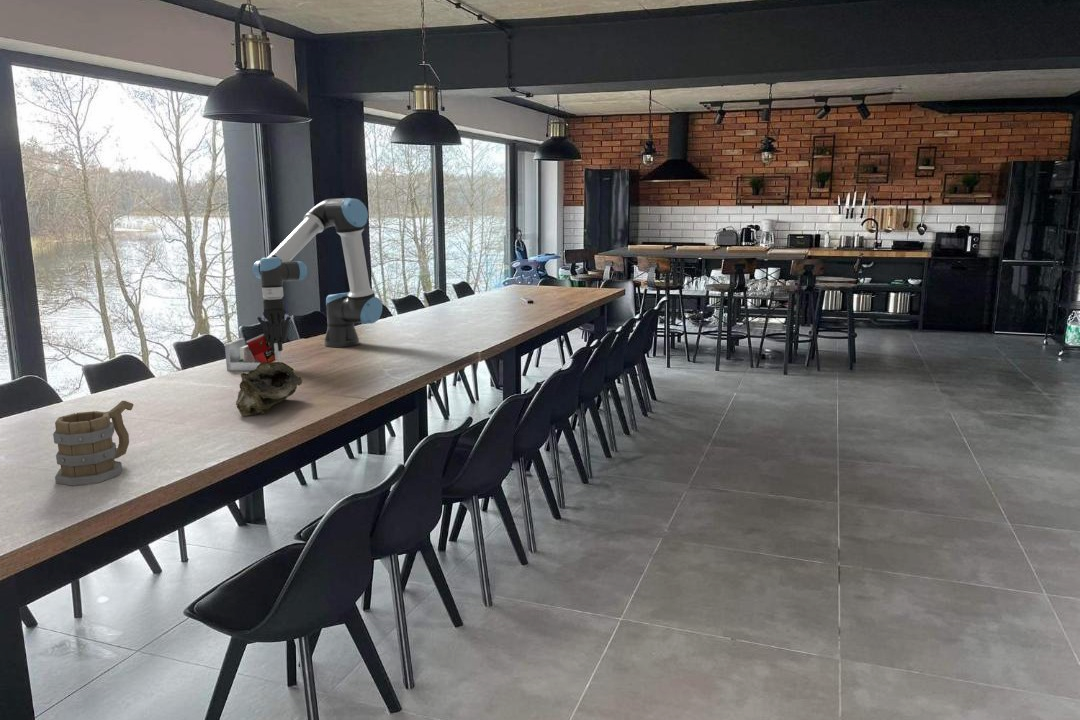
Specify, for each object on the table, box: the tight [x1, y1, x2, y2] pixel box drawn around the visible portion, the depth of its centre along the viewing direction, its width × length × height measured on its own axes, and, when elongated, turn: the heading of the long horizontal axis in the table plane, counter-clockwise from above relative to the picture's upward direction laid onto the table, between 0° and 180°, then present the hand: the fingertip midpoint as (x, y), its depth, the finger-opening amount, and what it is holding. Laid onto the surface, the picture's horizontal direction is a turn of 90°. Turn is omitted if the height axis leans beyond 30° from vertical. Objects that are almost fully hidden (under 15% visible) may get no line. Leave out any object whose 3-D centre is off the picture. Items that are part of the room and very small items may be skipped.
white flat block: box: [239, 344, 256, 362], centre depth 295 cm, size 13×2×8 cm, turn 177°
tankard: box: [52, 400, 134, 487], centre depth 178 cm, size 20×13×15 cm, turn 158°
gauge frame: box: [224, 337, 276, 371], centre depth 296 cm, size 14×13×10 cm
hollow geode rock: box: [235, 361, 303, 417], centre depth 236 cm, size 28×13×15 cm
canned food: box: [245, 333, 277, 363], centre depth 296 cm, size 8×8×11 cm
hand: (278, 359), depth 295 cm, fingers closed
